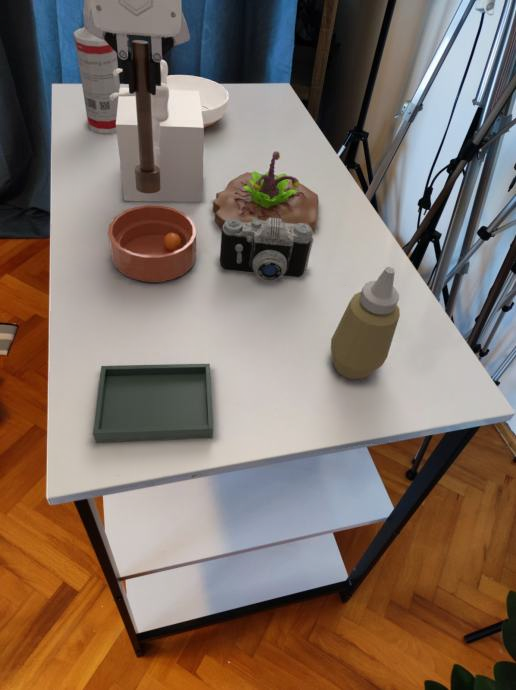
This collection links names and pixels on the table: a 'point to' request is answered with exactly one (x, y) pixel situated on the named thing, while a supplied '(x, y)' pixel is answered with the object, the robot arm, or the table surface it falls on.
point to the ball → (172, 241)
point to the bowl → (203, 95)
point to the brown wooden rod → (144, 121)
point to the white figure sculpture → (163, 142)
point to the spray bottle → (97, 77)
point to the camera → (266, 247)
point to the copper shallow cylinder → (152, 243)
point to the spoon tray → (153, 402)
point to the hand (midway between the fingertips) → (143, 89)
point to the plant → (266, 199)
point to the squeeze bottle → (367, 328)
